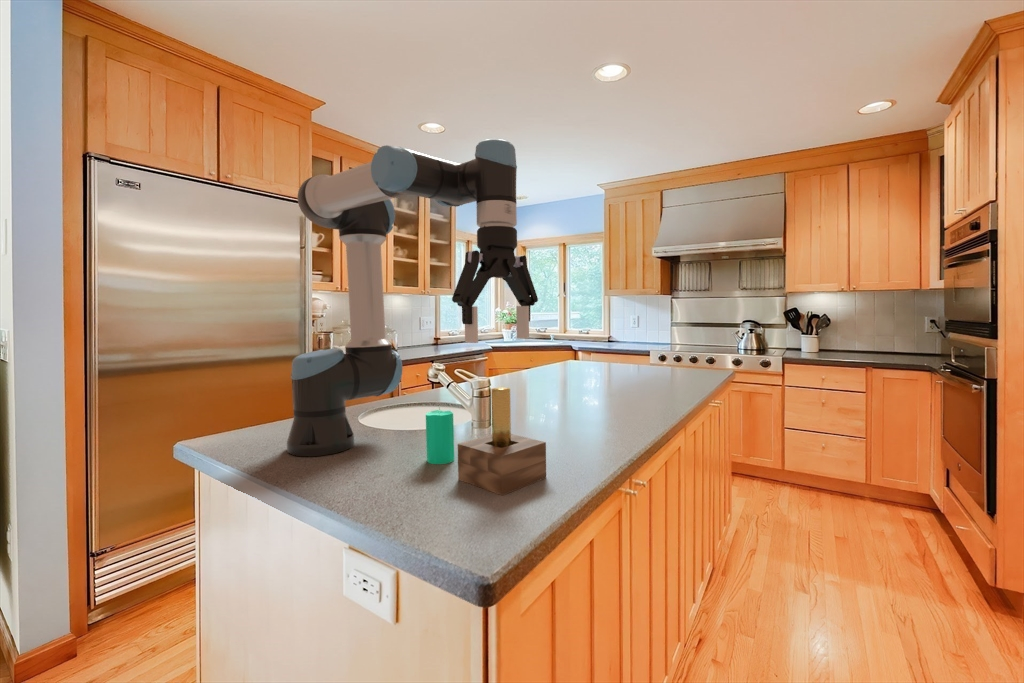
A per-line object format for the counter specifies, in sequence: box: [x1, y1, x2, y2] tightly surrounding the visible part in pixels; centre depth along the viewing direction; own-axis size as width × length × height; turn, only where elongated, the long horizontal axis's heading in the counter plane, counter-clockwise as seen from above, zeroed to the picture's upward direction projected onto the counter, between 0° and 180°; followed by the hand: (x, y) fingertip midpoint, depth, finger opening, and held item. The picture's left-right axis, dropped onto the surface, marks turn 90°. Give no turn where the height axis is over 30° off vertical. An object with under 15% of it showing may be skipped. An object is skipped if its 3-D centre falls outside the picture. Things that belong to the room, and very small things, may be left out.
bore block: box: [457, 433, 547, 496], centre depth 93 cm, size 12×12×7 cm
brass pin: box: [490, 386, 512, 448], centre depth 93 cm, size 4×4×14 cm
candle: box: [425, 405, 455, 465], centre depth 106 cm, size 6×6×12 cm
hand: (498, 340), depth 92 cm, fingers open, 13 cm apart
